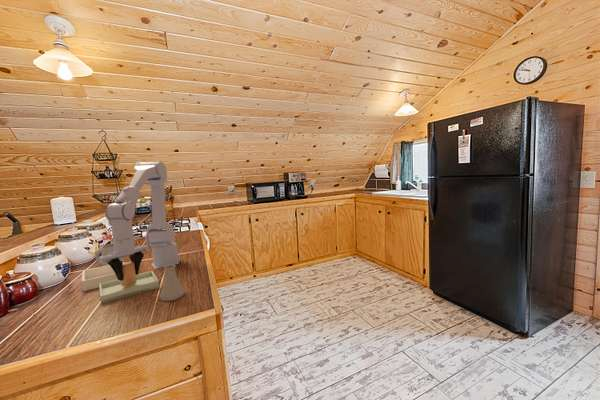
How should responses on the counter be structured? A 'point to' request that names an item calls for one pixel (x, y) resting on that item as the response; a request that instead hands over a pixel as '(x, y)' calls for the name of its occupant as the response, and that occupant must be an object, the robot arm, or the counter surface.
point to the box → (97, 277)
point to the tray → (127, 287)
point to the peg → (128, 274)
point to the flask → (171, 285)
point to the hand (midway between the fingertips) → (128, 276)
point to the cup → (105, 252)
